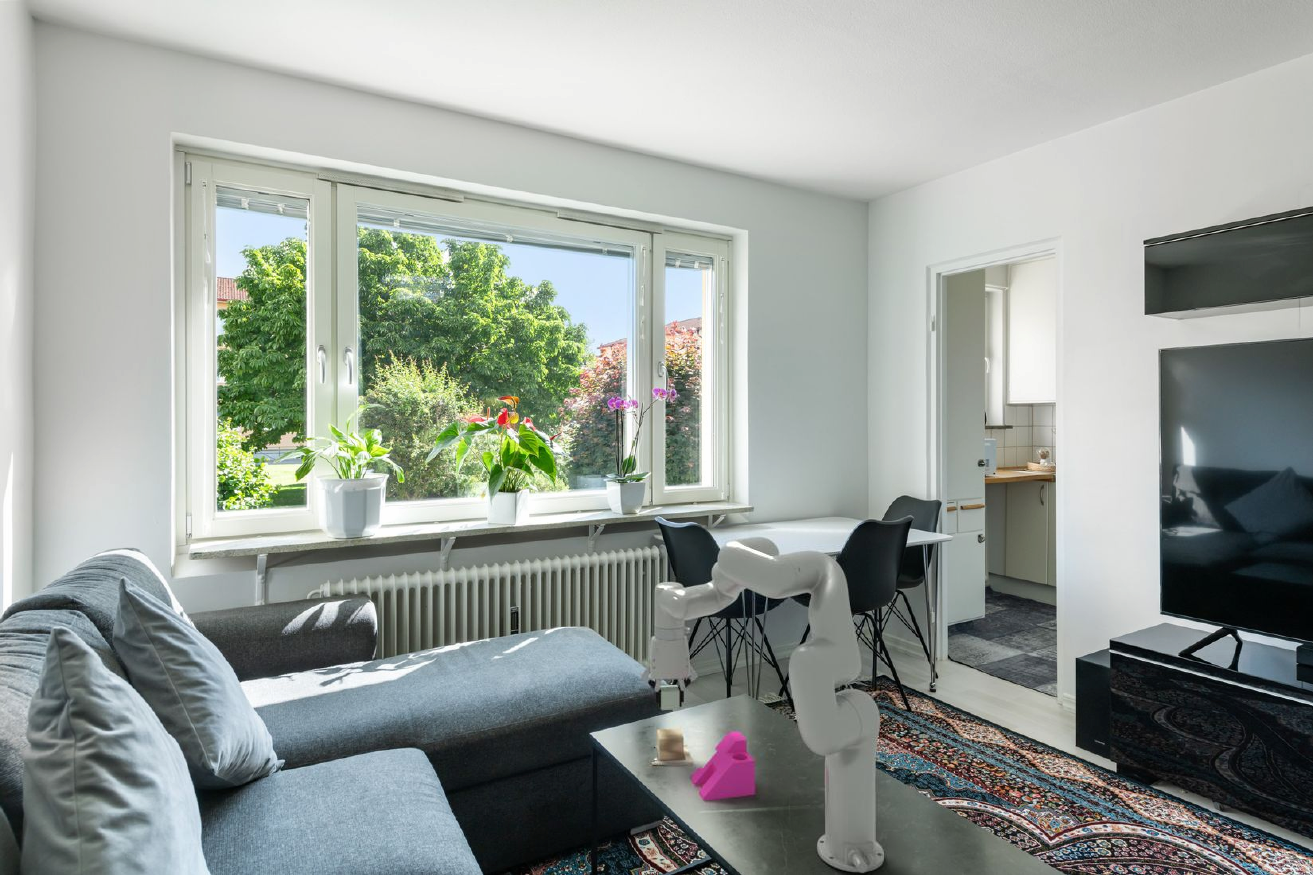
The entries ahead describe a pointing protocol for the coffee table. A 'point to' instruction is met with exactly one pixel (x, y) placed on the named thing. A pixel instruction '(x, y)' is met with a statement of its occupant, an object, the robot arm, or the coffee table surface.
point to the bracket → (727, 770)
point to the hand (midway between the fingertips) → (669, 704)
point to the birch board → (685, 761)
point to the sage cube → (669, 697)
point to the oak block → (670, 744)
